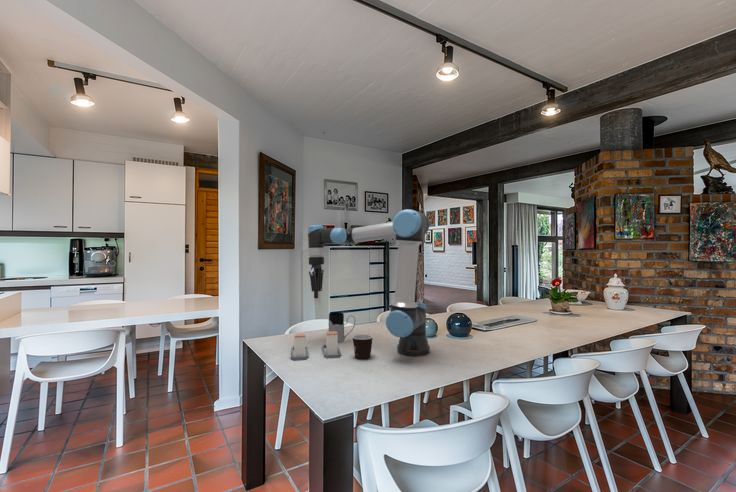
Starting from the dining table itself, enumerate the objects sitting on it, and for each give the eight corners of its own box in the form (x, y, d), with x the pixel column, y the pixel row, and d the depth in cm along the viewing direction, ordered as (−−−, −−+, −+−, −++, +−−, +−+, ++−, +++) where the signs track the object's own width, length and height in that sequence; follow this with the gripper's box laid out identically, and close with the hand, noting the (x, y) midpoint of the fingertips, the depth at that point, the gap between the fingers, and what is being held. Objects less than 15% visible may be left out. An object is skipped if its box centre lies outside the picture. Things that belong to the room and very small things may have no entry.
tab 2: (326, 353, 156) (326, 331, 156) (336, 352, 157) (336, 331, 157) (326, 355, 152) (326, 333, 152) (337, 355, 152) (337, 333, 153)
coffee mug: (370, 364, 144) (370, 340, 144) (350, 362, 146) (350, 338, 146) (375, 355, 156) (375, 333, 156) (356, 354, 158) (356, 332, 158)
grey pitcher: (326, 341, 179) (326, 312, 179) (353, 340, 182) (353, 311, 182) (328, 346, 170) (328, 315, 171) (357, 344, 174) (357, 314, 174)
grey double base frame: (290, 351, 162) (290, 346, 162) (337, 348, 167) (337, 343, 167) (290, 364, 144) (290, 358, 144) (342, 360, 149) (342, 354, 149)
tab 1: (294, 355, 152) (294, 333, 152) (305, 355, 153) (305, 333, 153) (294, 358, 148) (294, 336, 148) (305, 358, 149) (305, 335, 149)
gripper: (314, 256, 178) (315, 302, 177) (303, 256, 165) (304, 306, 165) (328, 256, 176) (329, 302, 175) (318, 256, 163) (319, 306, 163)
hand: (317, 304), depth 170 cm, fingers closed
